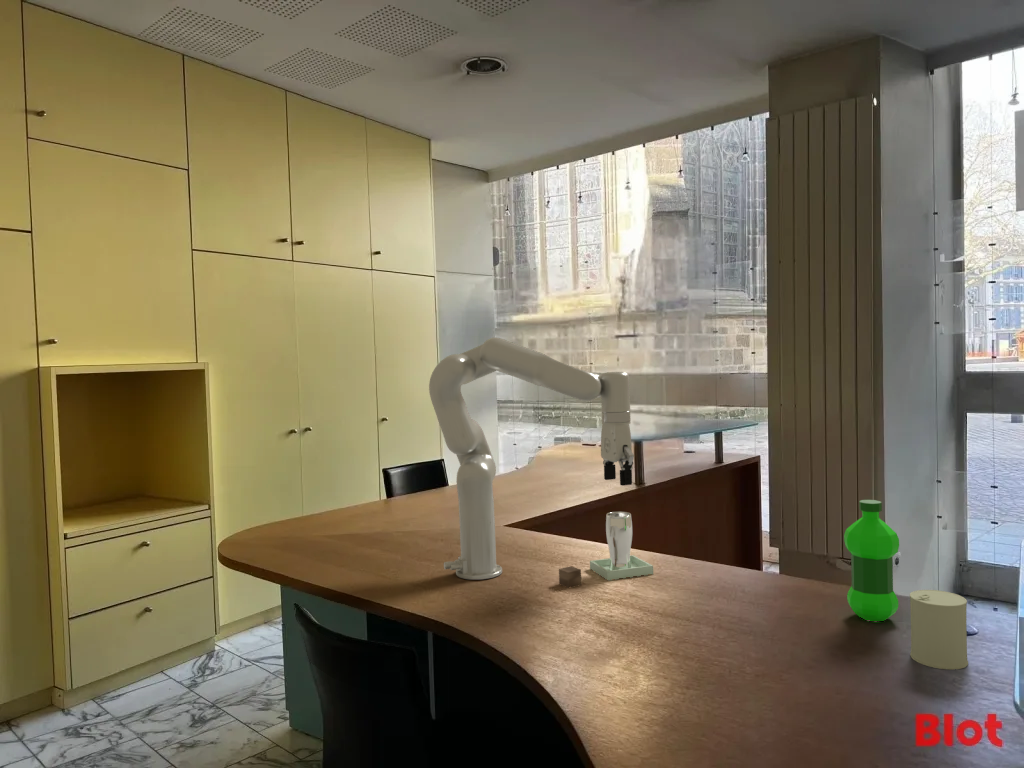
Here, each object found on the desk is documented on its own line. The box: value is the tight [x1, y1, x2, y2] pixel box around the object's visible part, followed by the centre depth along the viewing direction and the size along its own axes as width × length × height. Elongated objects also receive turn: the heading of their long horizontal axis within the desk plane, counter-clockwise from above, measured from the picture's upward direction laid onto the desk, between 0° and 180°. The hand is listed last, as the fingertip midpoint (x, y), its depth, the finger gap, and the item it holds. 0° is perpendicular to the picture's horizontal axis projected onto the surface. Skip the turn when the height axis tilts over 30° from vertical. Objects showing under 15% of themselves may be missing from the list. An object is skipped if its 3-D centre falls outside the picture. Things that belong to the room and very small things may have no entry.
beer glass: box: [605, 511, 633, 571], centre depth 196 cm, size 7×7×15 cm
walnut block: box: [558, 565, 582, 589], centre depth 187 cm, size 4×4×4 cm
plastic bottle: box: [843, 499, 900, 622], centre depth 156 cm, size 10×10×25 cm
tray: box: [589, 554, 654, 581], centre depth 196 cm, size 13×11×2 cm
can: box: [909, 589, 969, 671], centre depth 135 cm, size 9×9×12 cm
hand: (617, 482), depth 196 cm, fingers open, 9 cm apart
